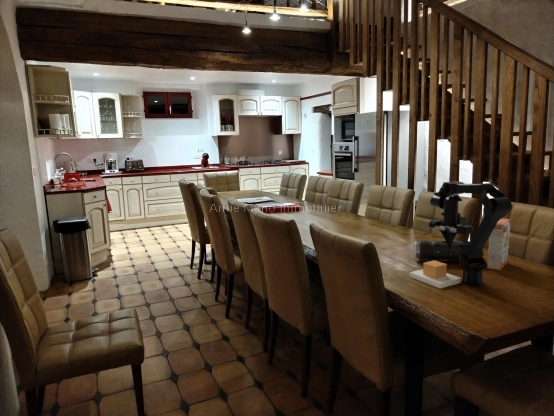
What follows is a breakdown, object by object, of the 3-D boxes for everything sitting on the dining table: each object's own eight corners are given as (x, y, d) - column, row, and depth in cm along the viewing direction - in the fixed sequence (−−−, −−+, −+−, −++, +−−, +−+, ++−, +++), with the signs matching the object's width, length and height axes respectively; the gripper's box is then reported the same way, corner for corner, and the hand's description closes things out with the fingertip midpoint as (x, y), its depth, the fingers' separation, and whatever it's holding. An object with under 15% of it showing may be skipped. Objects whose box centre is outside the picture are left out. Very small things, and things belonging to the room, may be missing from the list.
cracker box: (502, 271, 169) (504, 224, 165) (486, 268, 173) (489, 223, 169) (508, 262, 179) (511, 218, 176) (494, 260, 183) (496, 217, 179)
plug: (446, 280, 161) (446, 264, 160) (435, 283, 158) (435, 267, 157) (433, 275, 167) (434, 260, 165) (423, 278, 164) (423, 262, 163)
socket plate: (461, 282, 158) (461, 277, 157) (440, 288, 153) (440, 283, 152) (429, 271, 172) (429, 266, 172) (409, 276, 167) (409, 271, 166)
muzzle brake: (480, 265, 178) (481, 243, 176) (416, 264, 183) (416, 242, 181) (473, 259, 187) (474, 238, 185) (413, 258, 192) (413, 237, 191)
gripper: (483, 211, 161) (481, 247, 163) (445, 205, 177) (444, 238, 180) (465, 214, 156) (463, 252, 159) (428, 208, 172) (427, 242, 175)
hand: (449, 245), depth 168 cm, fingers closed
